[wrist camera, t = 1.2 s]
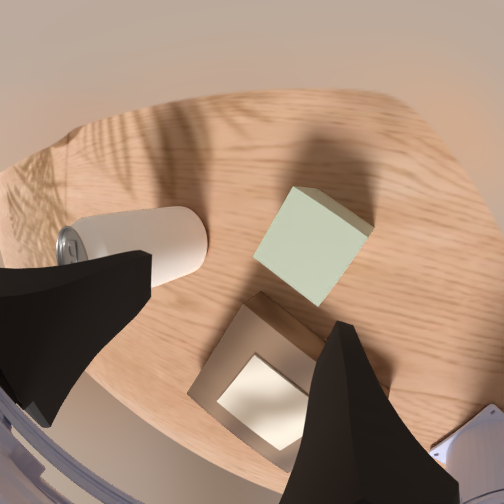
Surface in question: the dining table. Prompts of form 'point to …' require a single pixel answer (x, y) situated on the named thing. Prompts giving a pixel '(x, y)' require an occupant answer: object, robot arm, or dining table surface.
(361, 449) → the robot arm
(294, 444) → the base
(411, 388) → the dining table surface
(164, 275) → the can
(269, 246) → the cube
